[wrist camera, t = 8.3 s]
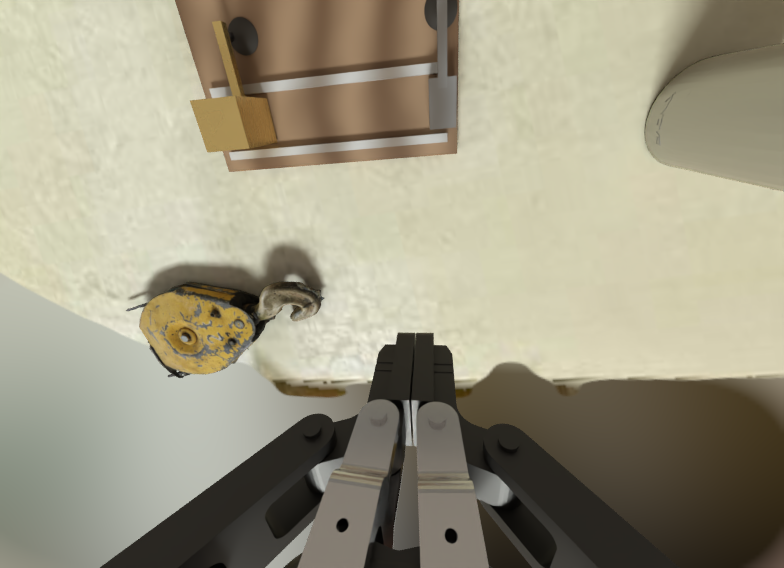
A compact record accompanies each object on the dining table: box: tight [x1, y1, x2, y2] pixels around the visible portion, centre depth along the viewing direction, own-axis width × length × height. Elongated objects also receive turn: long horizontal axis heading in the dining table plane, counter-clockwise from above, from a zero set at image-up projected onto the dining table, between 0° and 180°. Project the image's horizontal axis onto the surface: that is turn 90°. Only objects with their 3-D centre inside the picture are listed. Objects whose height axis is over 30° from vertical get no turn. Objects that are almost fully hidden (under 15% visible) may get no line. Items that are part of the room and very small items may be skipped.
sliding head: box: [190, 21, 277, 152], centre depth 28 cm, size 4×10×6 cm, turn 5°
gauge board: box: [175, 0, 459, 172], centre depth 29 cm, size 25×15×4 cm, turn 95°
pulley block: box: [126, 282, 324, 378], centre depth 44 cm, size 14×6×30 cm
